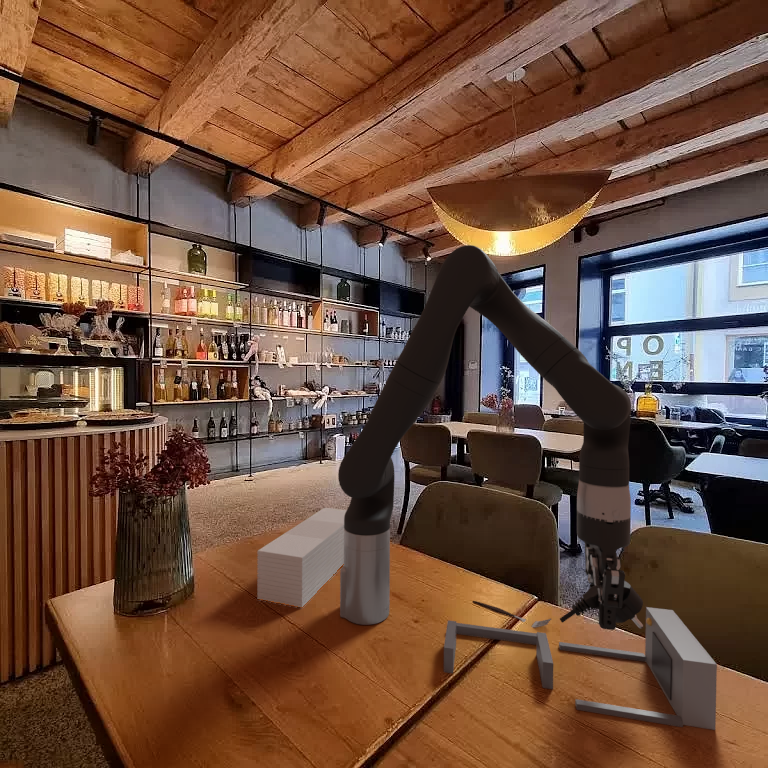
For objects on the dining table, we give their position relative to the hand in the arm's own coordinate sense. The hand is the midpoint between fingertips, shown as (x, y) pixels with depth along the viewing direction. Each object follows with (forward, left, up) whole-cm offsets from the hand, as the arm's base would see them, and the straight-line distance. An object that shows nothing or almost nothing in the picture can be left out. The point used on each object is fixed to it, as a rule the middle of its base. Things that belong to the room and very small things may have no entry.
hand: (601, 617), depth 68 cm
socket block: (+4, 0, -10) cm, 11 cm away
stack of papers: (-58, +25, -10) cm, 64 cm away
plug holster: (-16, +2, -10) cm, 19 cm away
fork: (-13, +16, -11) cm, 23 cm away
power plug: (0, 0, -1) cm, 1 cm away
